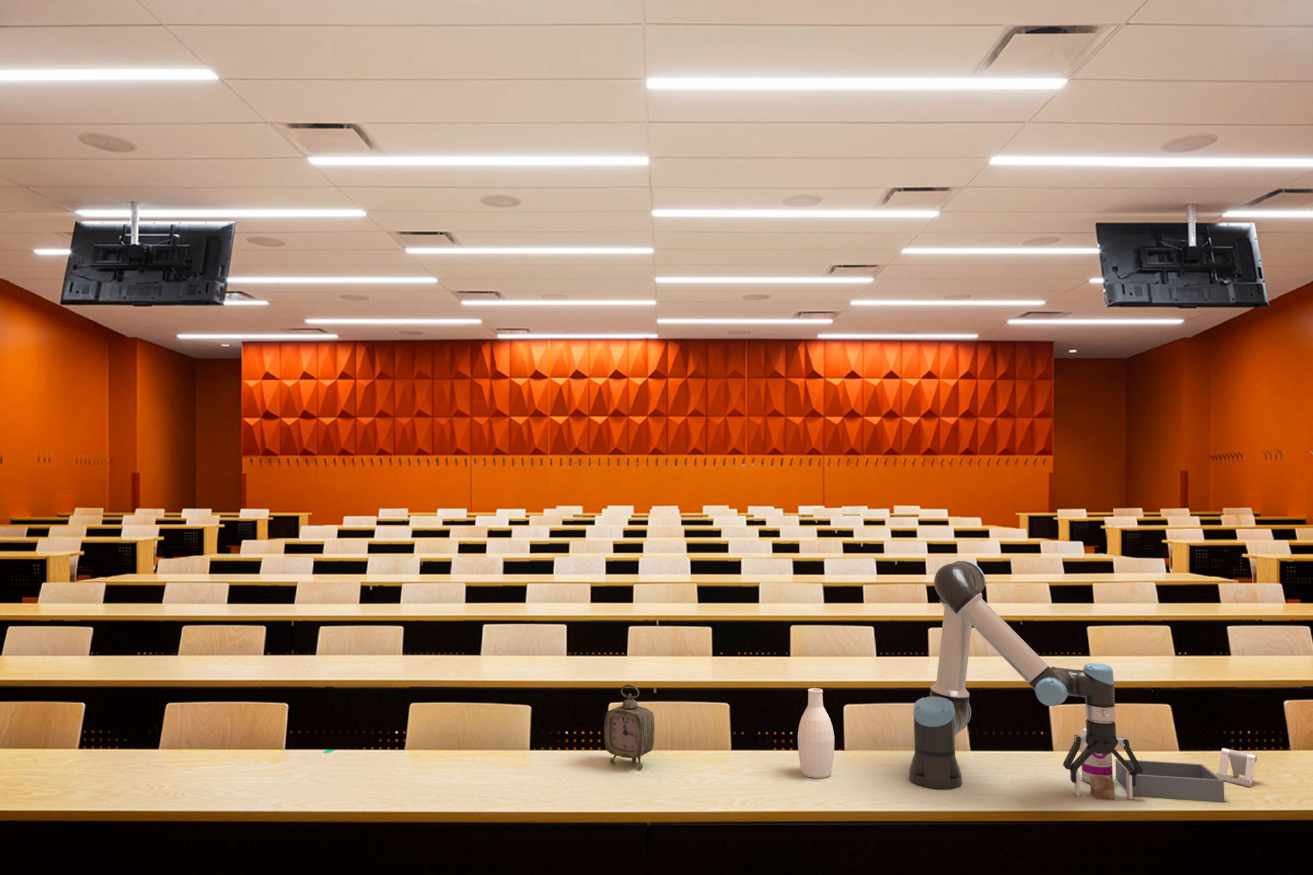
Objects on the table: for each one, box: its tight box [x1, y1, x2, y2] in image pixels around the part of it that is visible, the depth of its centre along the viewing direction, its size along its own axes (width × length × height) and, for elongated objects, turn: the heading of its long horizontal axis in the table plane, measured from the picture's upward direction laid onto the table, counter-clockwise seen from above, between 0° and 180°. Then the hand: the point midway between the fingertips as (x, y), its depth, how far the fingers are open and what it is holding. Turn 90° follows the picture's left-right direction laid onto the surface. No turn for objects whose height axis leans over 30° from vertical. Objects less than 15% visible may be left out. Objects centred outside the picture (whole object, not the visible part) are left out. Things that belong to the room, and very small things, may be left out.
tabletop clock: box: [603, 684, 656, 770], centre depth 274 cm, size 14×9×25 cm, turn 58°
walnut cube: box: [1089, 775, 1116, 801], centre depth 245 cm, size 5×5×5 cm
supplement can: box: [1080, 726, 1114, 784], centre depth 257 cm, size 8×8×15 cm
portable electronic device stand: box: [1215, 747, 1258, 788], centre depth 257 cm, size 9×8×8 cm
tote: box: [1114, 758, 1225, 803], centre depth 250 cm, size 24×15×6 cm, turn 78°
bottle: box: [797, 687, 835, 779], centre depth 265 cm, size 11×11×25 cm
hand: (1103, 795), depth 244 cm, fingers open, 13 cm apart
